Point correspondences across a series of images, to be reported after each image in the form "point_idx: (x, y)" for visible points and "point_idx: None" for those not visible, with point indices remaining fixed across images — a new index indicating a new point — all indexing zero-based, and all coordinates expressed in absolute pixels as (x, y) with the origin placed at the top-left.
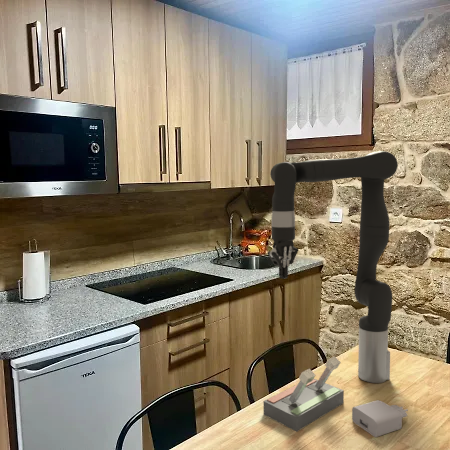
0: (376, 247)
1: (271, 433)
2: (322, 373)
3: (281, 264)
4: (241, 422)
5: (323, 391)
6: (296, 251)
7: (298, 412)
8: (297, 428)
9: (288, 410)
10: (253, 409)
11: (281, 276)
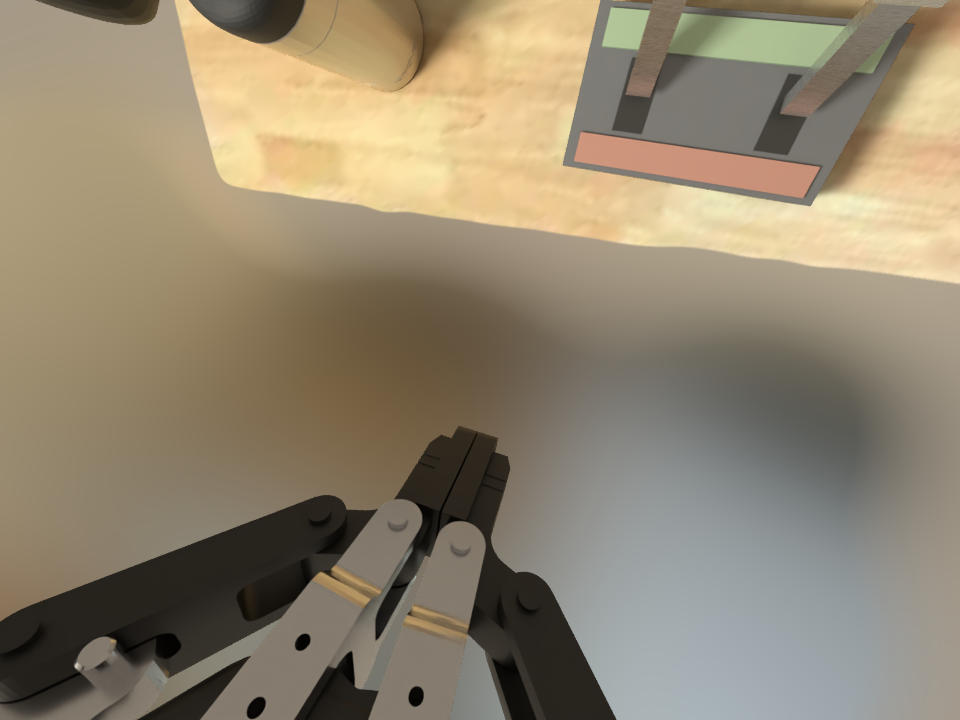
0: None
1: (916, 112)
2: (673, 35)
3: (523, 593)
4: (867, 232)
5: None
6: (73, 618)
7: None
8: None
9: (860, 87)
10: (767, 244)
11: (507, 470)
